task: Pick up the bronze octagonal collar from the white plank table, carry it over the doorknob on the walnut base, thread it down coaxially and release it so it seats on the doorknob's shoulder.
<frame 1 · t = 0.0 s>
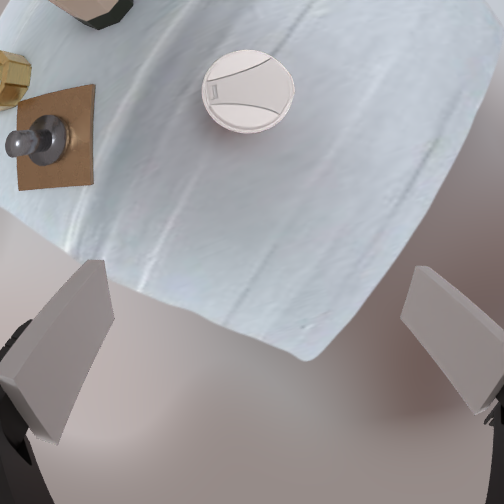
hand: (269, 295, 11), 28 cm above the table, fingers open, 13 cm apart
collar: (11, 83, 27), on the table
paper cup: (241, 106, 34), on the table
wine bottle: (108, 6, 25), on the table
doorknob: (53, 139, 32), on the table
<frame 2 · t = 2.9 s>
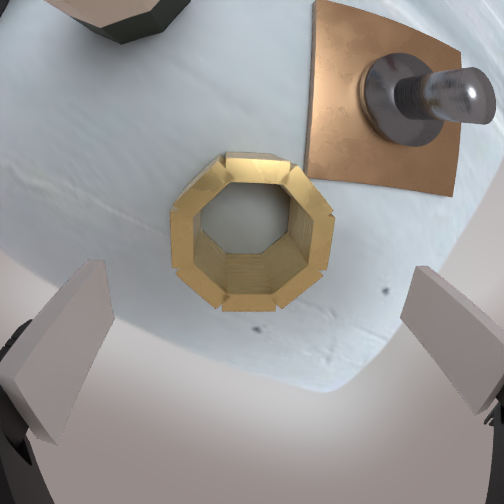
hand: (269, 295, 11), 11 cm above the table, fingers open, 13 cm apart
collar: (245, 213, 21), on the table
doorknob: (393, 100, 19), on the table
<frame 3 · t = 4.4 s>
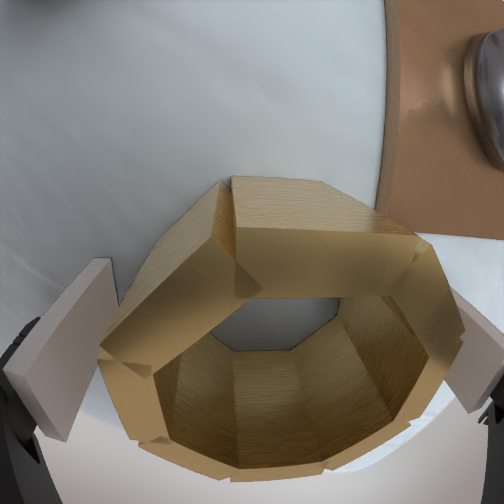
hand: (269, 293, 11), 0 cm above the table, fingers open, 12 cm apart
collar: (268, 290, 12), on the table
doorknob: (495, 101, 9), on the table
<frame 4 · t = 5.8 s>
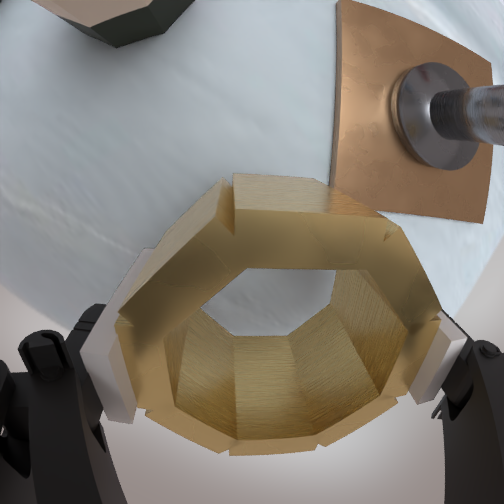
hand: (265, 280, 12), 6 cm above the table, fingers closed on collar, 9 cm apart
collar: (265, 277, 13), point 6 cm above the table, touching gripper
doorknob: (425, 116, 16), on the table
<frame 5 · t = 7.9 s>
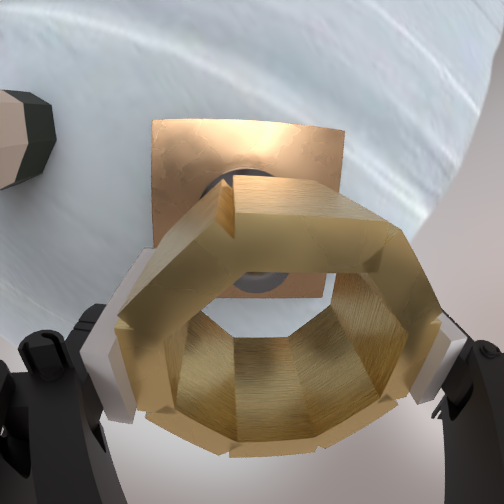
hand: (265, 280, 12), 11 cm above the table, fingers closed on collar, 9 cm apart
collar: (266, 279, 13), point 11 cm above the table, touching gripper
wine bottle: (23, 138, 18), on the table
doorknob: (244, 212, 23), on the table
when the fingers open (4 cm above the table, at t = 10.1 s): collar drops 2 cm, resting on doorknob.
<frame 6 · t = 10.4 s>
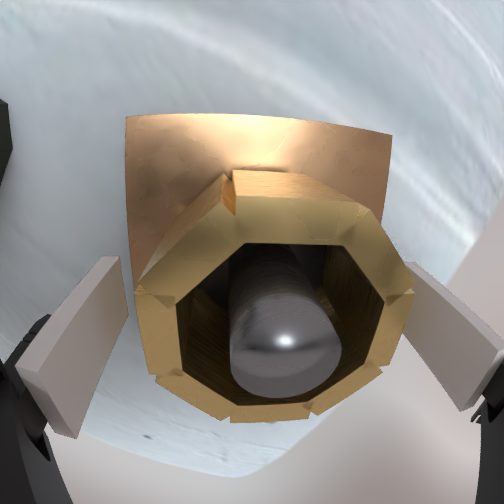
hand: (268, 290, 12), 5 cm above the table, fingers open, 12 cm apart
collar: (262, 262, 14), point 2 cm above the table, touching doorknob
doorknob: (256, 244, 17), on the table
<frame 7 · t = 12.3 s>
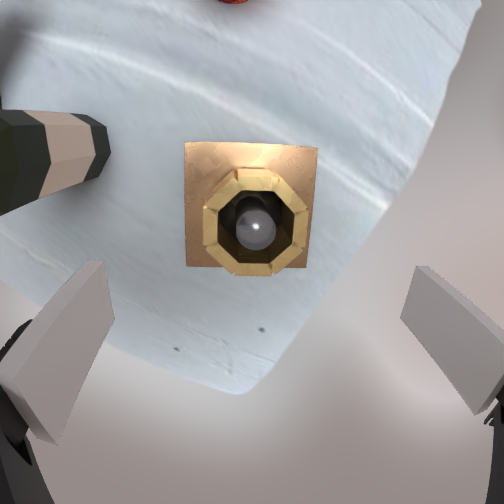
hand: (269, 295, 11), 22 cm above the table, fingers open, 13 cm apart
collar: (251, 211, 30), point 2 cm above the table, touching doorknob
wine bottle: (81, 149, 28), on the table
doorknob: (249, 205, 32), on the table
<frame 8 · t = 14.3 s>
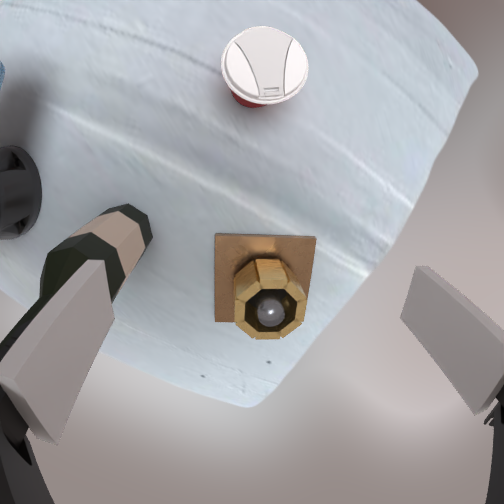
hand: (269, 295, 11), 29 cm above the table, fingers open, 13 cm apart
collar: (265, 288, 41), point 2 cm above the table, touching doorknob
paper cup: (252, 87, 33), on the table
wine bottle: (126, 231, 39), on the table
doorknob: (262, 279, 43), on the table
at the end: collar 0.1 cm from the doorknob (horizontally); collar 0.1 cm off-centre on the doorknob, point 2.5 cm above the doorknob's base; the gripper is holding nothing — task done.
